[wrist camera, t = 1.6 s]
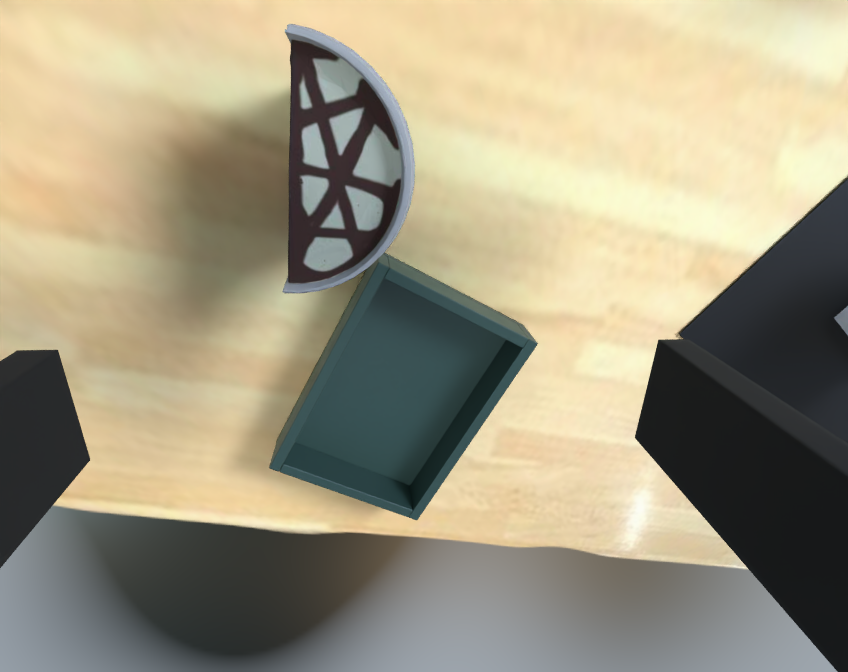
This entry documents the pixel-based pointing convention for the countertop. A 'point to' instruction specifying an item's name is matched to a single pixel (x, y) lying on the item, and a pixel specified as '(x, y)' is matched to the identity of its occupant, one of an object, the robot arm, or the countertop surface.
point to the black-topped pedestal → (791, 318)
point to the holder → (400, 389)
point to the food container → (342, 163)
